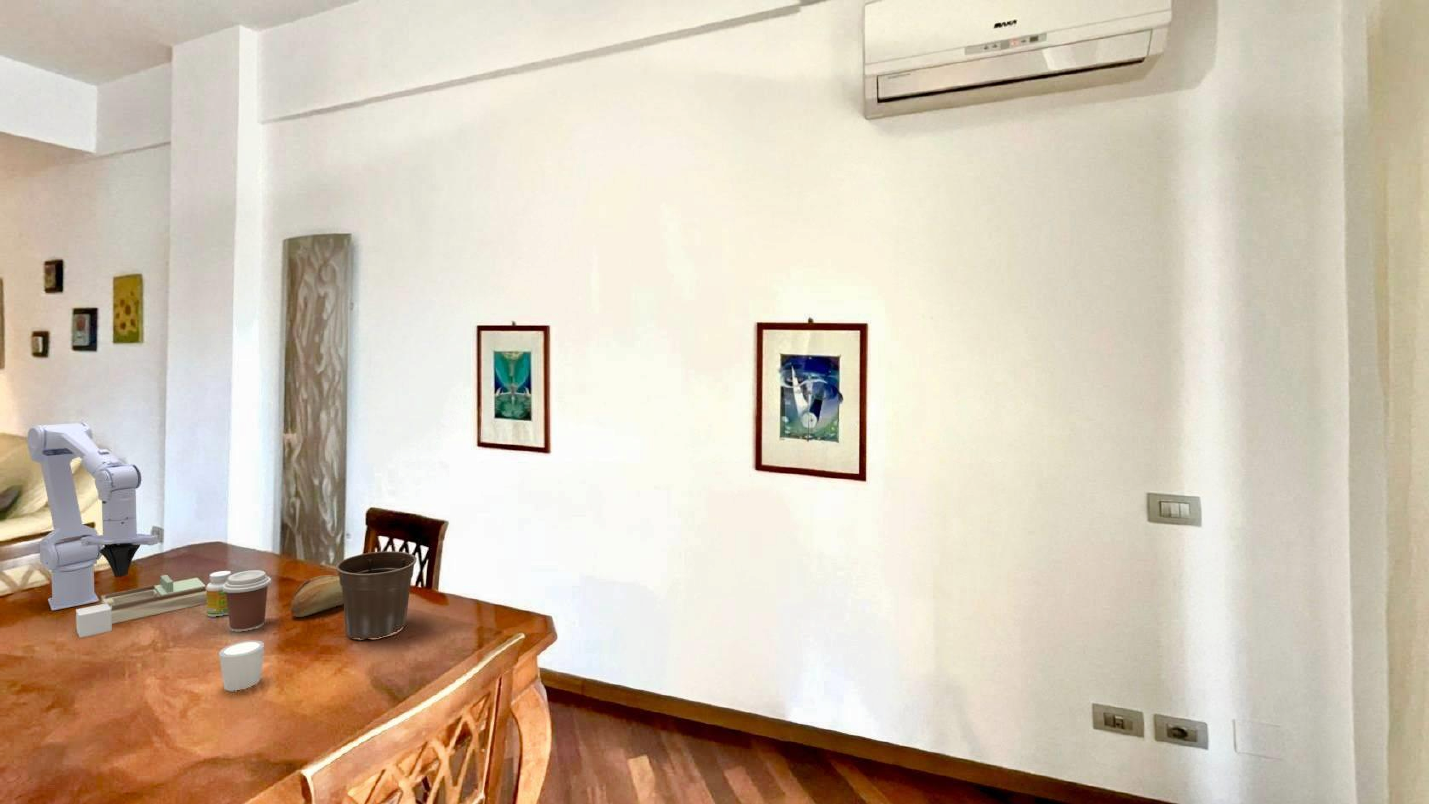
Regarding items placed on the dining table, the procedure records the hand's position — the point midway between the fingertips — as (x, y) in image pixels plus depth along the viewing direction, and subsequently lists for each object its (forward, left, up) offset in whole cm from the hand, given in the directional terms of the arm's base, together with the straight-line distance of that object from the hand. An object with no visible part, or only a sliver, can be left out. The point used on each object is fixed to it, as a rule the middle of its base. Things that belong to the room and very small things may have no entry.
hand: (121, 575), depth 145 cm
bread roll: (+27, +33, -10) cm, 44 cm away
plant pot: (+48, +37, -10) cm, 62 cm away
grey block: (+5, -5, -10) cm, 12 cm away
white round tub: (+54, +10, -10) cm, 56 cm away
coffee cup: (+25, +18, -10) cm, 33 cm away
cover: (-5, +11, -7) cm, 14 cm away
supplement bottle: (+12, +16, -10) cm, 23 cm away
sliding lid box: (-5, +7, -10) cm, 13 cm away
